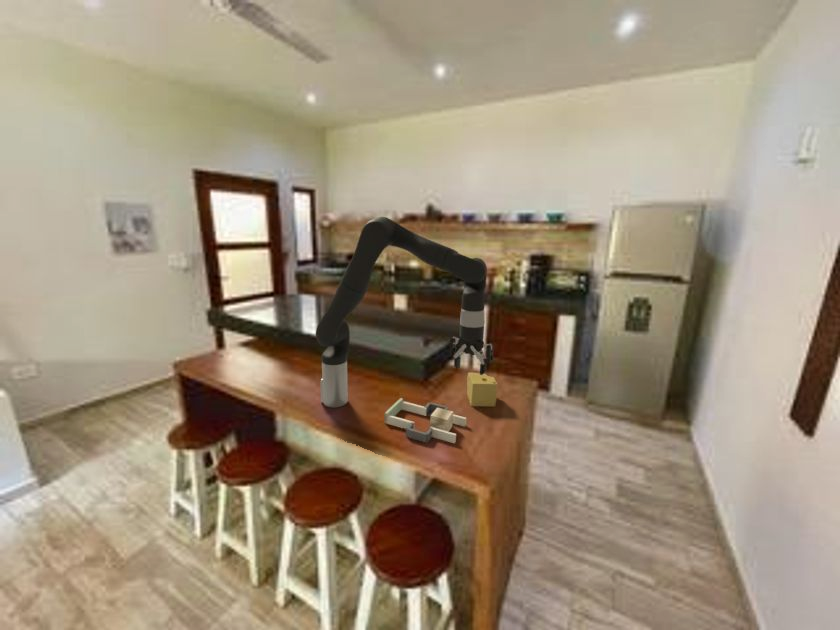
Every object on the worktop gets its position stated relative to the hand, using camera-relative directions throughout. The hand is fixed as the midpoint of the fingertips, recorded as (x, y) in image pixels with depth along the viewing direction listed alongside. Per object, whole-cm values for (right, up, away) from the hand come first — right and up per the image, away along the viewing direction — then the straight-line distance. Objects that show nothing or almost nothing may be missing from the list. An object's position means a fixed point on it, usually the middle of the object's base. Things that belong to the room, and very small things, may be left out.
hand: (469, 371), depth 119 cm
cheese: (+8, -17, +29) cm, 34 cm away
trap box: (-14, -20, +11) cm, 27 cm away
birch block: (-9, -21, +9) cm, 25 cm away
